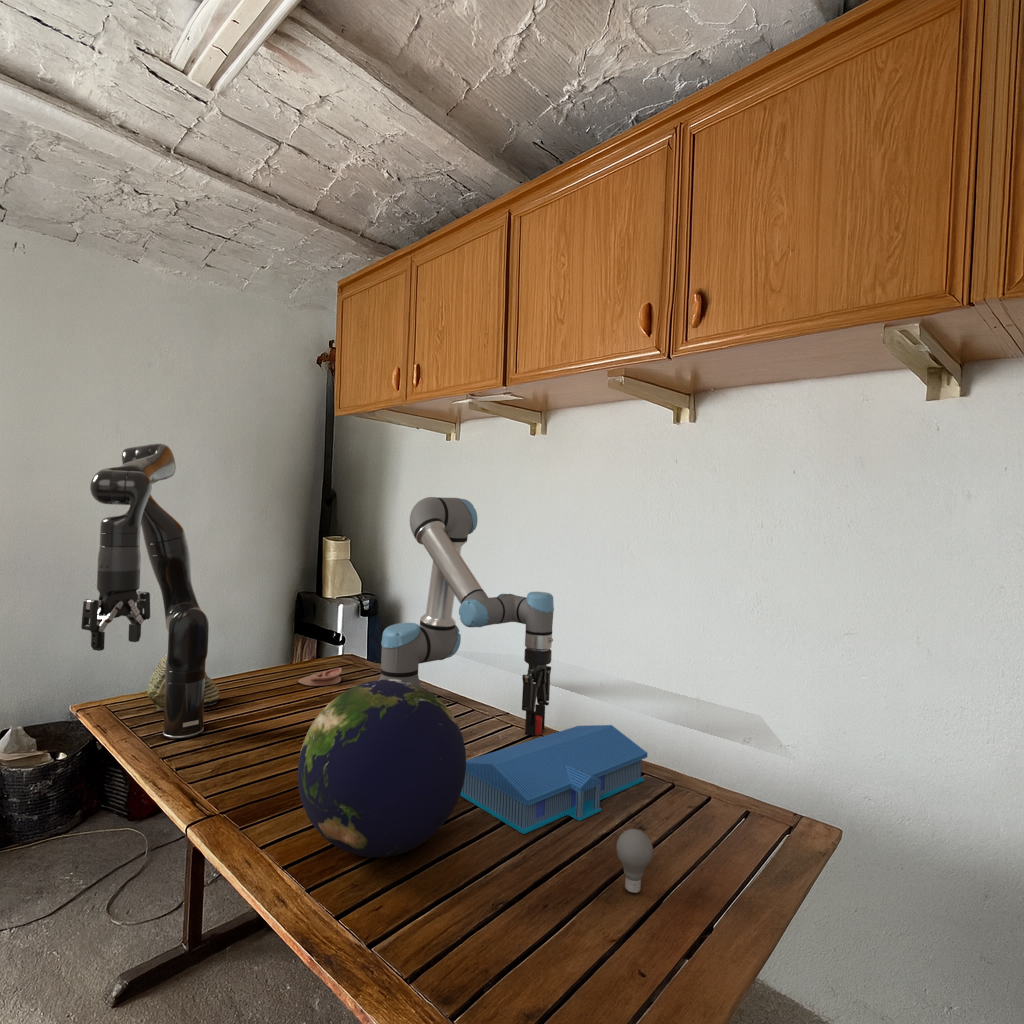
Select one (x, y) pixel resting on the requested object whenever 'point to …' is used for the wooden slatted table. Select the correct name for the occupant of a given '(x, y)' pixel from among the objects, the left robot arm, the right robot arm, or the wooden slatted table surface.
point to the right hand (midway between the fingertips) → (534, 731)
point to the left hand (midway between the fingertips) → (116, 645)
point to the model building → (553, 776)
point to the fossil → (158, 687)
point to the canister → (538, 725)
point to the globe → (381, 768)
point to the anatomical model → (322, 678)
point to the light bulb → (634, 857)
